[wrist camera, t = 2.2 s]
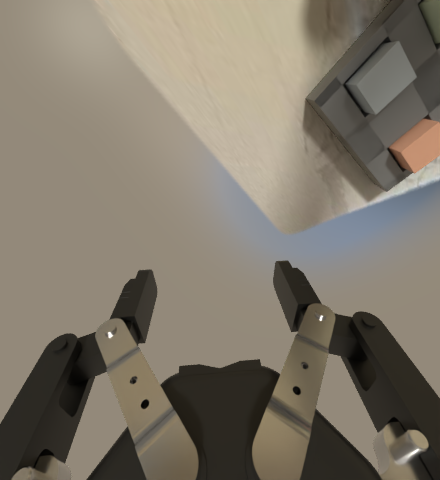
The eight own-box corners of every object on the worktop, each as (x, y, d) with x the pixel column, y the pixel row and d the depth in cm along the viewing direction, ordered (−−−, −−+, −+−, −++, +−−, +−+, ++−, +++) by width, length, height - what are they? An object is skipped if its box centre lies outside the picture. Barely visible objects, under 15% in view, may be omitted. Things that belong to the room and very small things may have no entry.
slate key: (382, 43, 22) (398, 40, 20) (400, 76, 24) (416, 77, 22) (344, 84, 24) (356, 84, 22) (363, 111, 26) (376, 114, 24)
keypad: (484, -107, 18) (528, -136, 16) (525, 68, 26) (559, 67, 23) (305, 98, 27) (315, 100, 25) (374, 183, 35) (387, 192, 32)
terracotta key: (422, 118, 27) (439, 121, 25) (435, 141, 29) (451, 146, 27) (387, 147, 29) (400, 152, 27) (401, 167, 31) (414, 173, 29)
